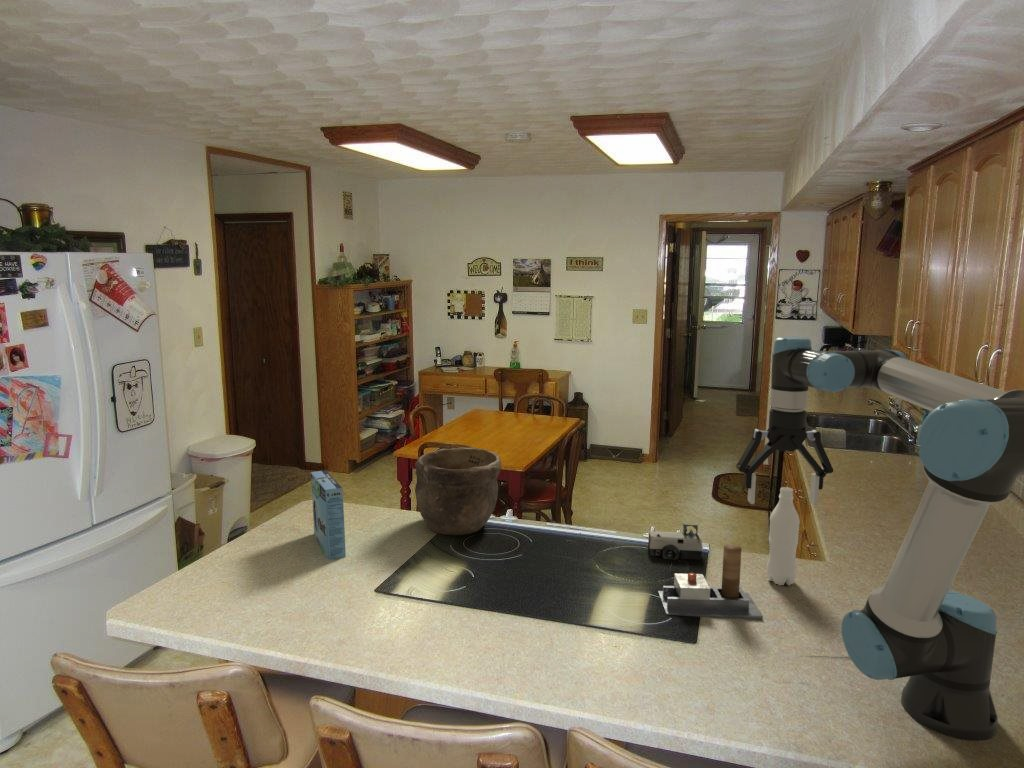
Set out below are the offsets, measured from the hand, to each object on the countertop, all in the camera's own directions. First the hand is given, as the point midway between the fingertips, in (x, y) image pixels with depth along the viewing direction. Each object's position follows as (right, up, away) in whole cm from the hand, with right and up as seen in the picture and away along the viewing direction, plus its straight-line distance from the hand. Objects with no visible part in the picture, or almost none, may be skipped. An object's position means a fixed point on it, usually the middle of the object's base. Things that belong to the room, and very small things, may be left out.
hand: (782, 503), depth 156 cm
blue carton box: (-111, -23, +41) cm, 120 cm away
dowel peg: (-8, -26, +13) cm, 30 cm away
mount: (-13, -27, +13) cm, 33 cm away
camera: (-14, -23, +42) cm, 50 cm away
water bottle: (+10, -25, +27) cm, 38 cm away
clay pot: (-76, -20, +58) cm, 98 cm away
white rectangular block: (-17, -23, +12) cm, 31 cm away
